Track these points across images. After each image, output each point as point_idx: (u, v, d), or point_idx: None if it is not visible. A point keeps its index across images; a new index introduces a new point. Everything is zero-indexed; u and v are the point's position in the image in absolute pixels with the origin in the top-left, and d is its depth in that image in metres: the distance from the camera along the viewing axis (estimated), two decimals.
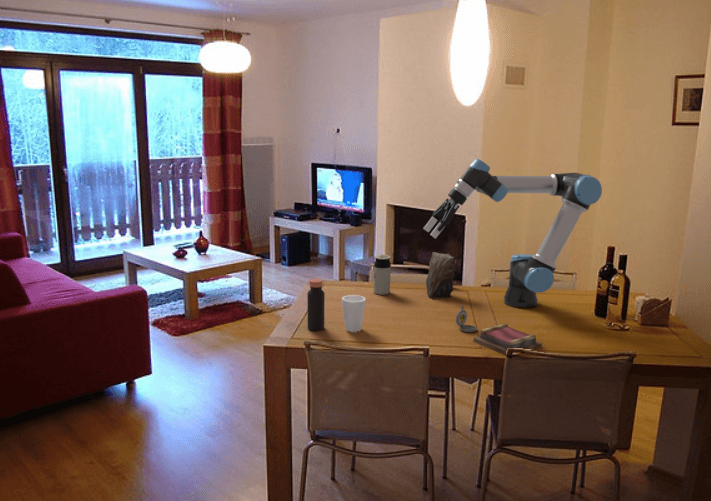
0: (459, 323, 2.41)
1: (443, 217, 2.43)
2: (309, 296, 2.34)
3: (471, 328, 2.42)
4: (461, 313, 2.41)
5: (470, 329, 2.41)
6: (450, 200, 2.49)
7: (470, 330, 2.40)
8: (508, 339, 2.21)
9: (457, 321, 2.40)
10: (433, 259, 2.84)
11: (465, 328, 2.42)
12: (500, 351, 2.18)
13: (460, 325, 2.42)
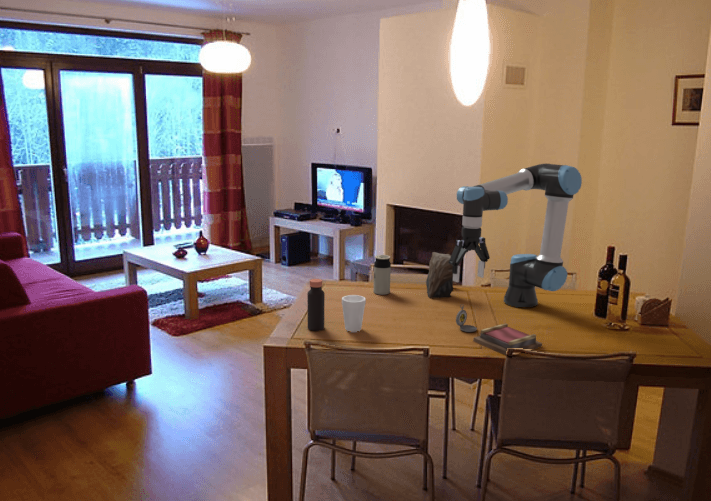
0: (459, 323, 2.41)
1: None
2: (309, 296, 2.34)
3: (471, 328, 2.42)
4: (461, 313, 2.41)
5: (470, 329, 2.41)
6: None
7: (470, 330, 2.40)
8: (508, 339, 2.21)
9: (457, 321, 2.40)
10: (433, 259, 2.84)
11: (465, 328, 2.42)
12: (500, 351, 2.18)
13: (460, 325, 2.42)
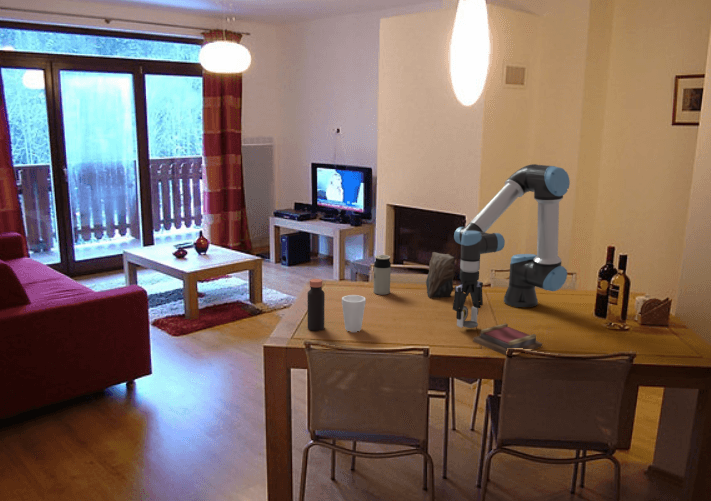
0: None
1: None
2: (309, 296, 2.34)
3: (472, 324, 2.42)
4: None
5: (471, 325, 2.41)
6: None
7: (471, 326, 2.40)
8: (508, 339, 2.21)
9: None
10: (433, 259, 2.84)
11: (466, 324, 2.42)
12: (500, 351, 2.18)
13: None
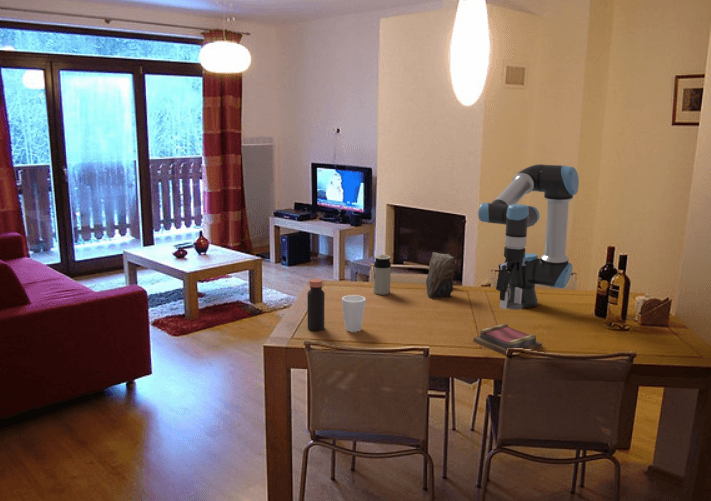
0: None
1: None
2: (309, 296, 2.34)
3: (516, 306, 2.24)
4: None
5: (515, 307, 2.23)
6: None
7: (516, 308, 2.22)
8: (508, 339, 2.21)
9: None
10: (433, 259, 2.84)
11: (510, 306, 2.24)
12: (500, 351, 2.18)
13: None
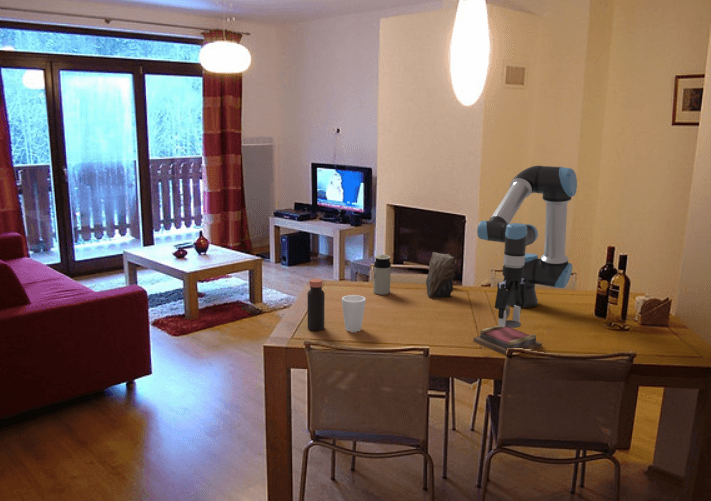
0: None
1: None
2: (309, 296, 2.34)
3: (515, 324, 2.25)
4: None
5: (514, 325, 2.24)
6: None
7: (514, 326, 2.23)
8: (508, 339, 2.21)
9: None
10: (433, 259, 2.84)
11: (508, 324, 2.25)
12: (500, 351, 2.18)
13: None
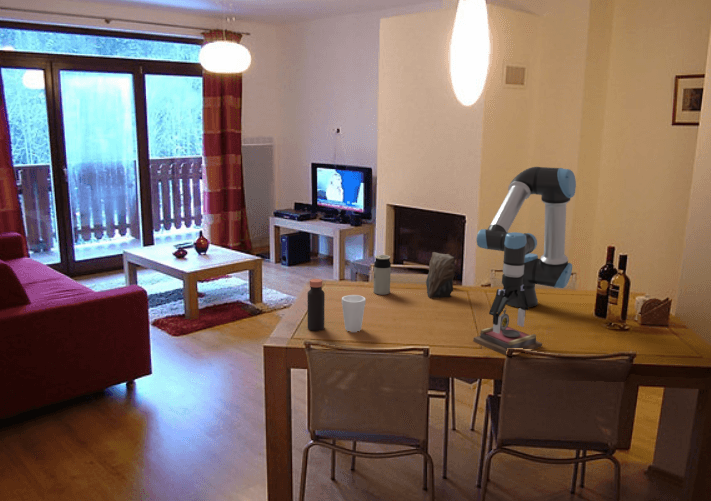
0: (501, 328, 2.26)
1: None
2: (309, 296, 2.34)
3: (514, 333, 2.26)
4: (503, 317, 2.25)
5: (513, 334, 2.25)
6: None
7: (513, 335, 2.24)
8: (508, 339, 2.21)
9: None
10: (433, 259, 2.84)
11: (508, 333, 2.26)
12: (500, 351, 2.18)
13: (502, 330, 2.26)
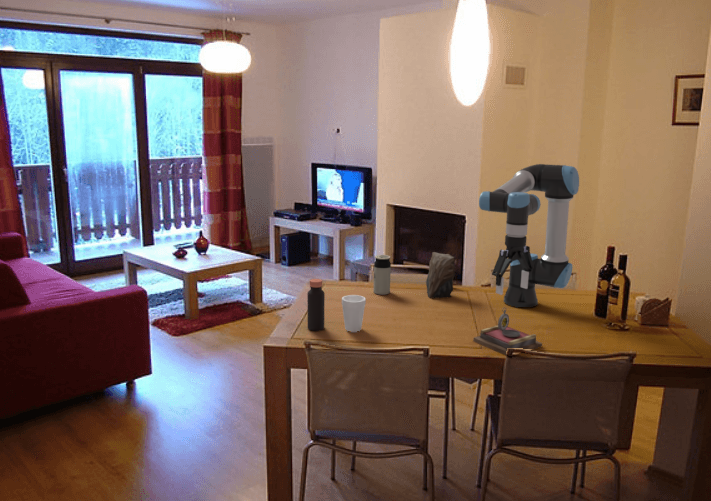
0: (501, 328, 2.26)
1: None
2: (309, 296, 2.34)
3: (514, 333, 2.26)
4: (503, 317, 2.25)
5: (513, 334, 2.25)
6: None
7: (513, 335, 2.24)
8: (508, 339, 2.21)
9: (499, 325, 2.24)
10: (433, 259, 2.84)
11: (508, 333, 2.26)
12: (500, 351, 2.18)
13: (502, 330, 2.26)
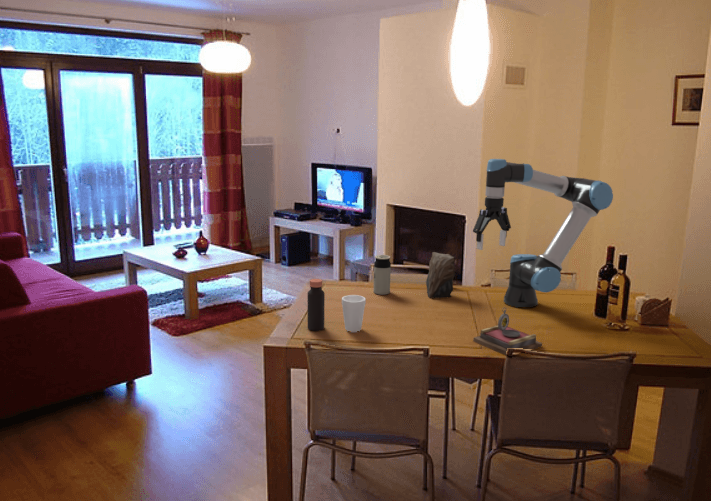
0: (501, 328, 2.26)
1: None
2: (309, 296, 2.34)
3: (514, 333, 2.26)
4: (503, 317, 2.25)
5: (513, 334, 2.25)
6: None
7: (513, 335, 2.24)
8: (508, 339, 2.21)
9: (499, 325, 2.24)
10: (433, 259, 2.84)
11: (508, 333, 2.26)
12: (500, 351, 2.18)
13: (502, 330, 2.26)
